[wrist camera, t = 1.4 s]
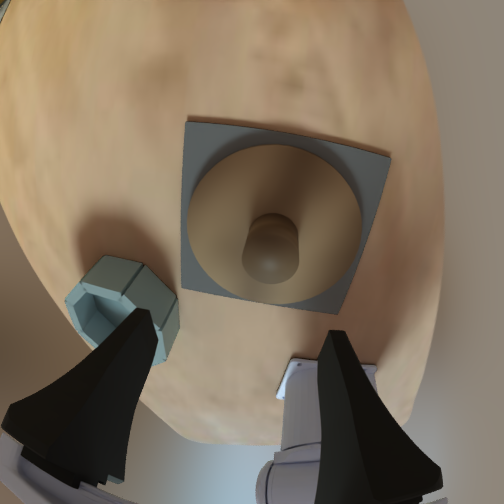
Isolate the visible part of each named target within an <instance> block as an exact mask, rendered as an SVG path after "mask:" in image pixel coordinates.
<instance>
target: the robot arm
mask: <svg viewBox="0 0 504 504" xmlns="http://www.w3.org/2000/svg"><path fill="white" fill-rule="evenodd" d="M158 341H159V340H158V337H157V333H156V330H155V327H154V323H153V320H152V317H151V313H150V310H148V309H142V308H137V307H136V308H135V309H134V310H133V311H132V312H131V313H130V314H129V315H128V316H127V317H126V318H125V319H124V320H123V321H122V322H121V324H120V325H119V326H118V327H117V328H116V329H115V330H114V331H113V332H112V333H111V334H110V335H109V336H108V337H107V338H106V339H105V340H104V341H103V342H102V343H101V344H100V345H99V346H98V347H97V348H95V349H94V350H93V351H92V352H91V353H90V354H89V355H88V356H87V357H86V358H85V359H83V360H82V361H81V362H80V363H79V364H78V365H76V366H75V367H74V368H73V369H71V370H70V371H69V372H67V373H66V374H65V375H63V376H62V377H60V378H59V379H58V380H56V381H55V382H53V383H52V384H50V385H48V386H47V387H45V388H43V389H42V390H40V391H38V392H36V393H35V394H32V395H31V396H29V397H26V398H24V399H22V400H20V401H17V402H15V403H13V404H11V405H10V406H9V408H8V410H7V413H6V415H5V417H4V419H3V422H2V424H1V427H2V429H3V430H5V431H6V432H7V433H8V434H9V435H11V436H12V437H13V438H15V439H16V440H17V441H19V442H20V443H22V444H23V445H24V446H23V445H22V444H20V443H18V442H17V441H15V440H14V439H13V438H11V437H10V436H8V435H7V434H6V433H2V435H1V438H0V481H1V482H2V483H3V484H4V485H6V486H7V487H8V488H9V489H10V490H11V491H12V492H13V493H14V494H15V495H16V496H17V497H18V498H19V499H20V500H21V501H22V502H23V503H25V504H137V503H134V502H131V501H129V500H126V499H123V498H121V497H118V496H115V495H113V494H111V493H108V492H106V491H103V490H101V489H99V488H97V484H98V483H100V484H103V485H105V484H106V481H107V480H108V481H111V482H114V483H117V484H120V483H122V482H124V476H125V463H126V454H127V446H128V441H129V435H130V430H131V425H132V421H133V416H134V412H135V409H136V405H137V402H138V400H139V397H140V394H141V392H142V389H143V387H144V384H145V381H146V379H147V376H148V374H149V371H150V368H151V366H152V363H153V360H154V357H155V353H156V349H157V345H158ZM376 371H377V367H376V366H375V365H361V364H360V362H359V360H358V358H357V356H356V354H355V352H354V350H353V347H352V345H351V343H350V341H349V339H348V337H347V335H346V333H345V331H340V330H329V332H328V335H327V337H326V340H325V342H324V345H323V347H322V349H321V352H320V354H319V357H318V361H314V360H305V359H297V358H294V359H291V360H290V362H289V364H288V367H287V369H286V372H285V374H284V377H283V379H282V382H281V384H280V386H279V389H278V391H277V393H276V398H278V399H284V413H283V427H282V440H281V452H275V454H274V460H271V461H268V462H267V463H266V464H265V466H264V467H263V468H262V469H261V471H260V472H259V475H258V478H257V483H256V501H257V504H419V502H422V500H423V498H422V495H425V494H428V493H431V492H434V491H437V490H439V489H441V488H442V487H443V479H442V472H441V468H440V467H439V466H438V465H437V464H436V463H434V462H433V461H432V460H431V459H430V458H429V457H428V456H427V455H426V454H424V453H423V452H422V451H421V450H420V449H419V447H417V446H416V445H415V444H414V442H413V441H412V440H411V439H410V438H409V436H408V435H407V434H406V433H405V432H404V431H403V430H402V428H401V427H400V426H399V425H398V423H397V422H396V421H395V419H394V418H393V417H392V415H391V414H390V412H389V411H388V410H387V408H386V407H385V405H384V404H383V402H382V401H381V399H380V397H379V396H378V392H377V387H376V381H375V376H374V373H375V372H376ZM427 504H448V499H447V498H446V497H445V498H442V499H439V500H436V501H433V502H430V503H427Z"/></svg>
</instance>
